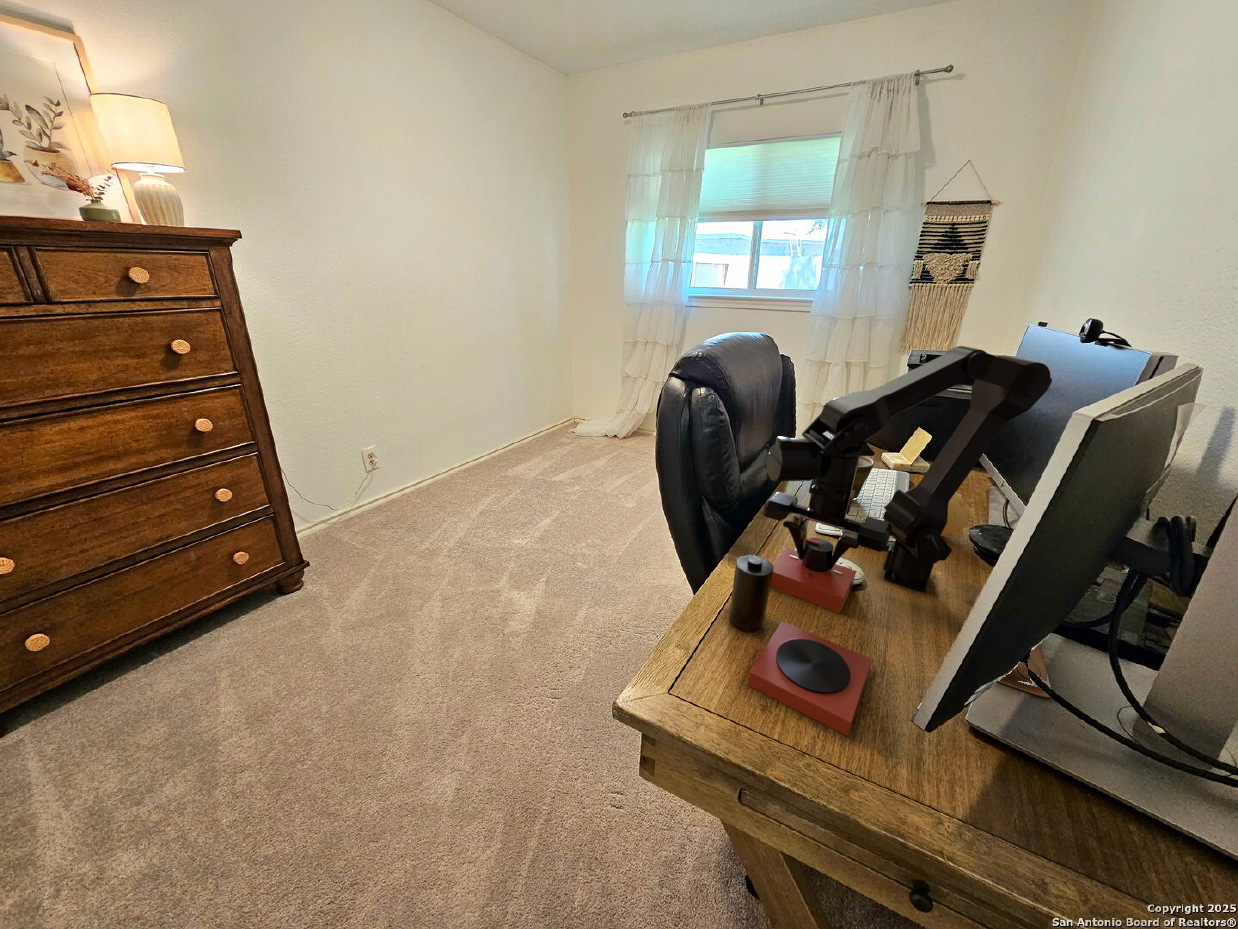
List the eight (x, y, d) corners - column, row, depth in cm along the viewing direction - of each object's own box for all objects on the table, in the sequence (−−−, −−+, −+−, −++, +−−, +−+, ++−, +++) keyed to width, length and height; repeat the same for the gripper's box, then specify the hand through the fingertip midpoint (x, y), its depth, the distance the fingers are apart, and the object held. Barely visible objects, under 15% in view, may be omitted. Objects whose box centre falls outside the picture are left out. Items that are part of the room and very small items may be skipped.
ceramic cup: (824, 485, 120) (832, 447, 116) (868, 496, 114) (877, 457, 110) (809, 504, 110) (817, 463, 106) (856, 517, 104) (866, 475, 101)
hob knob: (832, 563, 82) (837, 541, 81) (825, 575, 79) (830, 553, 77) (806, 554, 85) (810, 533, 83) (798, 566, 81) (802, 544, 80)
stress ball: (893, 525, 102) (905, 482, 98) (928, 518, 105) (940, 476, 101) (936, 549, 93) (951, 503, 89) (972, 541, 96) (988, 496, 92)
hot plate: (868, 671, 64) (872, 657, 63) (847, 736, 55) (851, 720, 54) (779, 633, 71) (782, 619, 70) (747, 685, 62) (750, 670, 61)
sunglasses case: (1059, 701, 60) (1041, 654, 59) (991, 700, 64) (973, 656, 63) (1035, 618, 74) (1020, 580, 73) (980, 623, 78) (966, 586, 78)
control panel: (855, 580, 83) (859, 565, 82) (839, 613, 75) (843, 597, 74) (786, 556, 89) (788, 542, 88) (764, 584, 81) (767, 568, 80)
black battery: (771, 624, 72) (782, 563, 68) (746, 637, 69) (756, 575, 65) (745, 605, 76) (754, 546, 72) (721, 616, 74) (729, 556, 69)
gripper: (907, 478, 77) (884, 561, 83) (790, 452, 87) (777, 527, 93) (897, 503, 68) (872, 593, 74) (769, 470, 78) (756, 552, 84)
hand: (815, 563), depth 82 cm, fingers closed on hob knob, 4 cm apart
